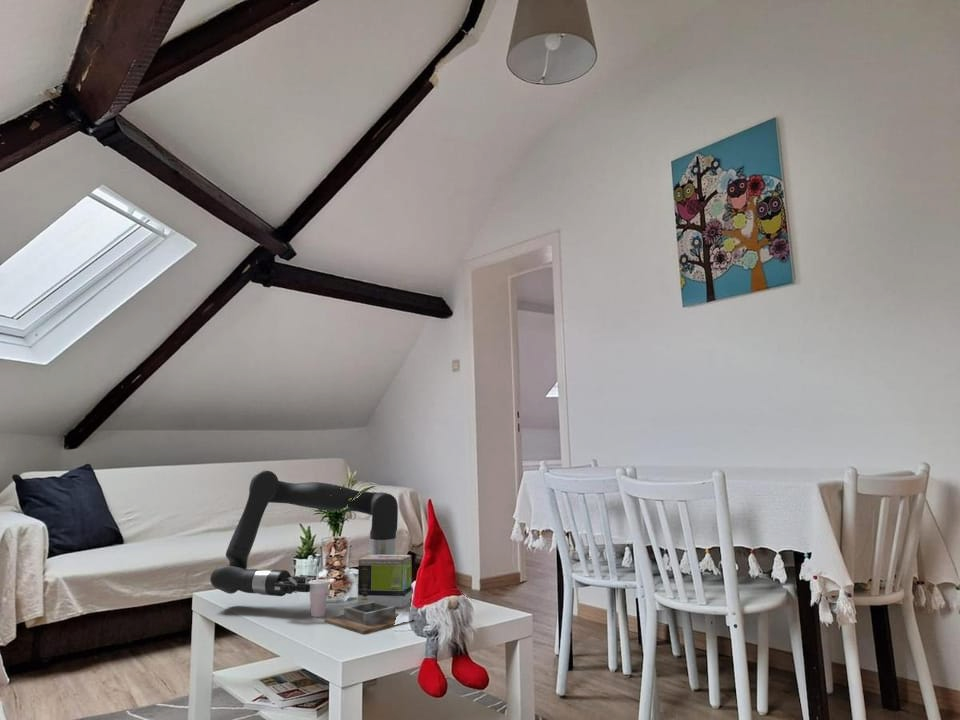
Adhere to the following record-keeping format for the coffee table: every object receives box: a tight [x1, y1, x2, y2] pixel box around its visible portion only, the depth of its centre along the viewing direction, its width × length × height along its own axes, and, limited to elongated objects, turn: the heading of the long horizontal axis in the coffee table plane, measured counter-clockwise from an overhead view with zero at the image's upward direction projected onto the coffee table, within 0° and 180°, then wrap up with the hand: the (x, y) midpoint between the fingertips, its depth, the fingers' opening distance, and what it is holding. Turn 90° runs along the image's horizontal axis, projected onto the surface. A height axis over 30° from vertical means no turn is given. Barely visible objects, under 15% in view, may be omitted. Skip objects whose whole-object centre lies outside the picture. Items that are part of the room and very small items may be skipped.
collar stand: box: [324, 601, 400, 635], centre depth 176 cm, size 18×18×4 cm
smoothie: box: [308, 565, 331, 618], centre depth 184 cm, size 6×6×14 cm
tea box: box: [357, 554, 413, 609], centre depth 197 cm, size 15×10×15 cm, turn 79°
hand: (317, 585), depth 184 cm, fingers open, 8 cm apart
